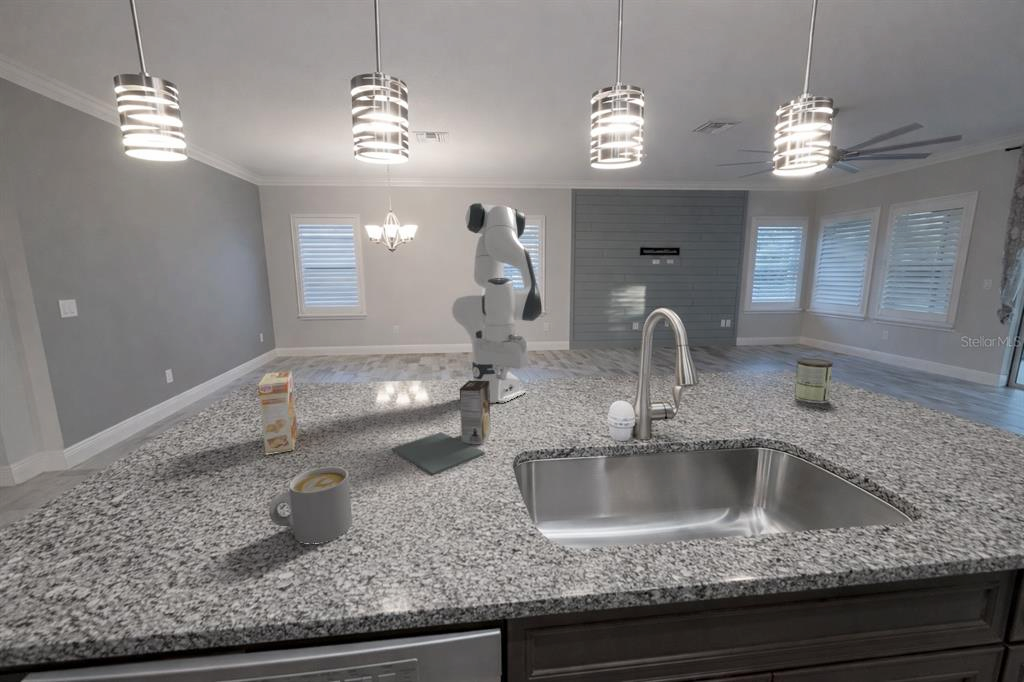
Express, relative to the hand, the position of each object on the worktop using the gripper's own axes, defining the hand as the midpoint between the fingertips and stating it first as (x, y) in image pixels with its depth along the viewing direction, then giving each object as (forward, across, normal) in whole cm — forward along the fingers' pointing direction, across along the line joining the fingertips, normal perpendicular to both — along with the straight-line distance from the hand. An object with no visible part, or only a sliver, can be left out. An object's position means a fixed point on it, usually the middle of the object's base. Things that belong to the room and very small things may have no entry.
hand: (501, 379), depth 124 cm
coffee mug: (+17, -11, +58) cm, 62 cm away
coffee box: (+16, 0, +9) cm, 18 cm away
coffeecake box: (+16, +38, +50) cm, 65 cm away
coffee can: (+15, -60, -98) cm, 115 cm away
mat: (+16, +1, +23) cm, 28 cm away
